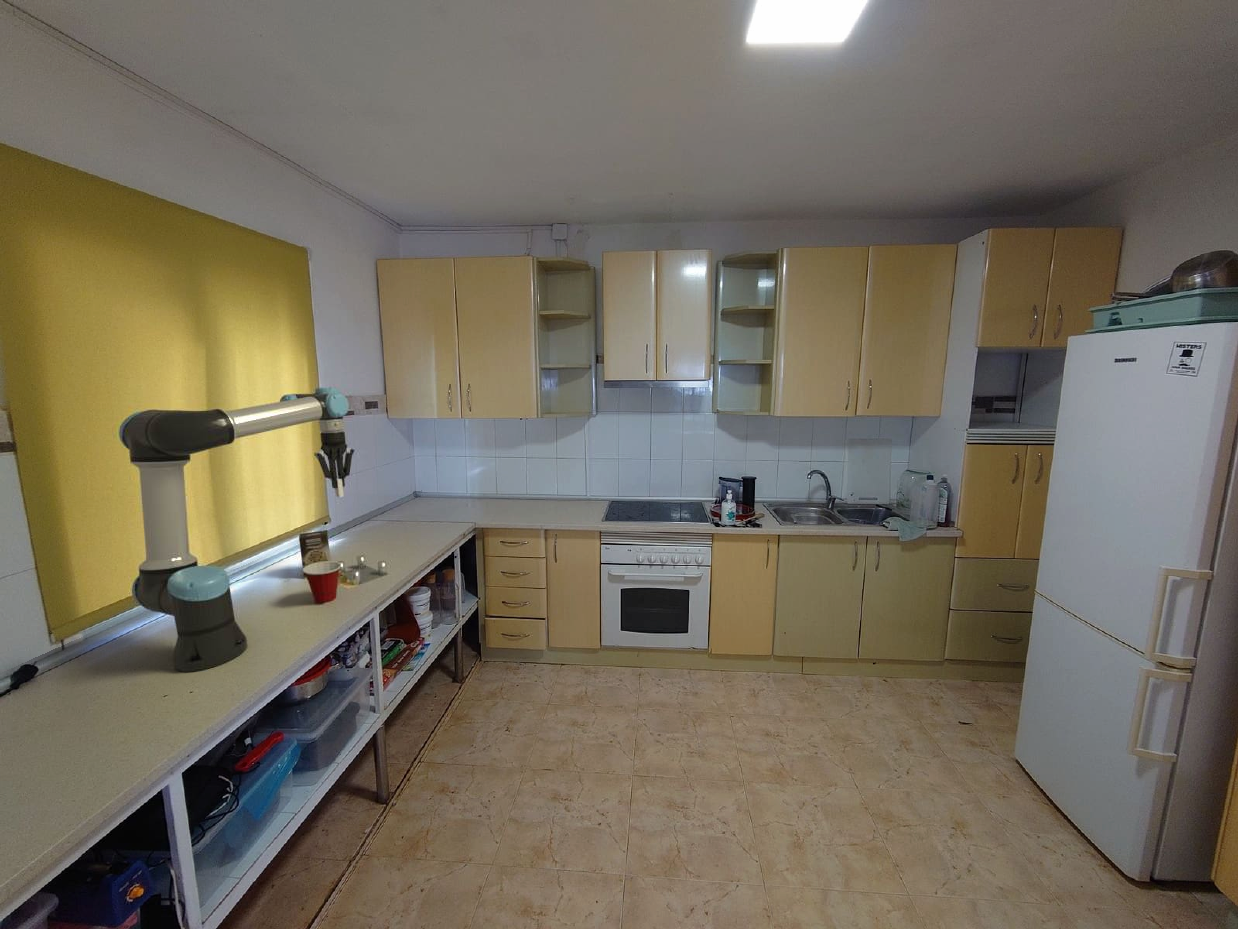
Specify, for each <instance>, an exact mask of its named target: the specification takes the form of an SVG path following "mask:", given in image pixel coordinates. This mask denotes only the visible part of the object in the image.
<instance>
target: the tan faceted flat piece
mask: <svg viewBox="0 0 1238 929" xmlns="http://www.w3.org/2000/svg"><path fill="white" fill-rule="evenodd" d="M347 580H348V578H347V573H339V574H338V584H342V583H345V582H347Z"/></svg>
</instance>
